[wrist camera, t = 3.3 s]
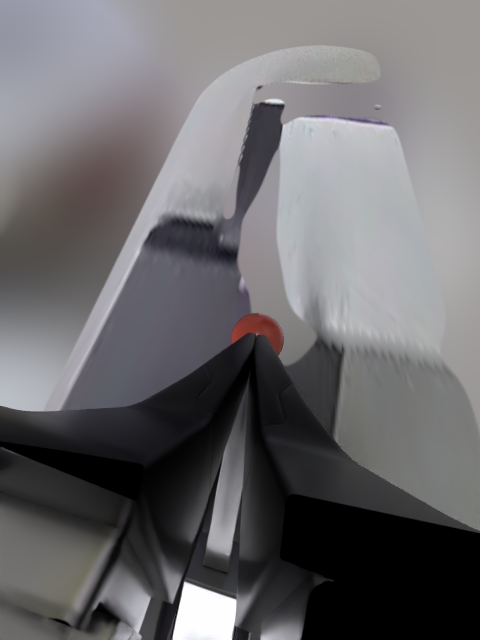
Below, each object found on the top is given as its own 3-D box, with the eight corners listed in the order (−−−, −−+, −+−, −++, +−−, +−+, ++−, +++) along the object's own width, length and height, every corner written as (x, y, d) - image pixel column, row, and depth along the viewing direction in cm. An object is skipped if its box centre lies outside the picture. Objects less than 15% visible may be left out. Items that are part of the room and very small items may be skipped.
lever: (238, 316, 13) (234, 301, 10) (283, 324, 12) (291, 311, 10) (180, 595, 9) (150, 686, 7) (238, 616, 9) (231, 720, 6)
